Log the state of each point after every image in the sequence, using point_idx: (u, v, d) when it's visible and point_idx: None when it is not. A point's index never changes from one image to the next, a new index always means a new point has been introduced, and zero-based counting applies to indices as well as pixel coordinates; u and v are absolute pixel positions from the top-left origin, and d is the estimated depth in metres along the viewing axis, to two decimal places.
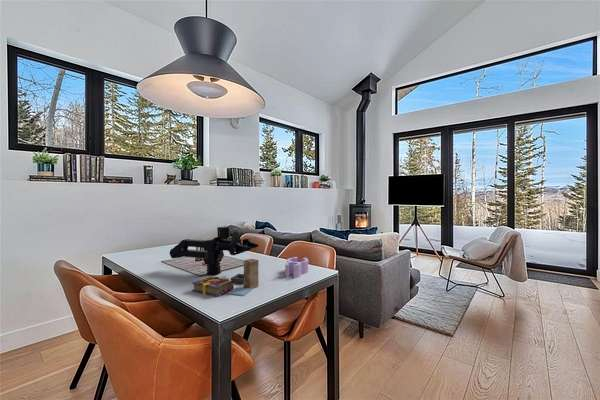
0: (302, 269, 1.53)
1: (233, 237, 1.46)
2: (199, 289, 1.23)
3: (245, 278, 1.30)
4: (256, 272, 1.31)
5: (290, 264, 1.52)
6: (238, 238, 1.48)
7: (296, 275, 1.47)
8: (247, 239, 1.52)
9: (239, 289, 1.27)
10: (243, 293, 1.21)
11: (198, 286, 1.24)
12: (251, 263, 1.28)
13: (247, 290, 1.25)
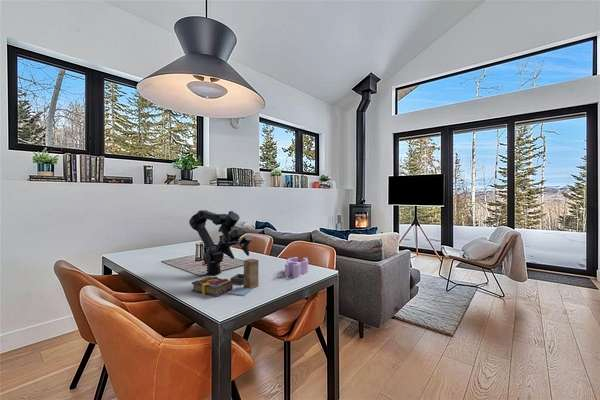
0: (302, 269, 1.53)
1: (232, 233, 1.37)
2: (198, 289, 1.23)
3: (245, 278, 1.30)
4: (256, 272, 1.31)
5: (290, 264, 1.52)
6: (236, 236, 1.39)
7: (295, 275, 1.46)
8: (246, 241, 1.42)
9: (239, 289, 1.27)
10: (243, 293, 1.21)
11: (197, 286, 1.24)
12: (251, 263, 1.28)
13: (247, 290, 1.25)
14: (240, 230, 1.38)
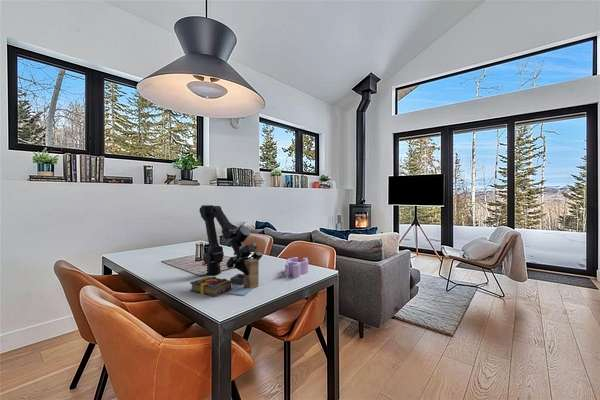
0: (302, 269, 1.53)
1: (243, 249, 1.31)
2: (197, 289, 1.23)
3: (245, 278, 1.30)
4: (256, 272, 1.31)
5: (290, 264, 1.52)
6: (247, 252, 1.33)
7: (295, 275, 1.46)
8: (254, 257, 1.35)
9: (239, 289, 1.27)
10: (243, 293, 1.21)
11: (196, 286, 1.24)
12: (251, 263, 1.28)
13: (247, 290, 1.25)
14: (251, 245, 1.32)
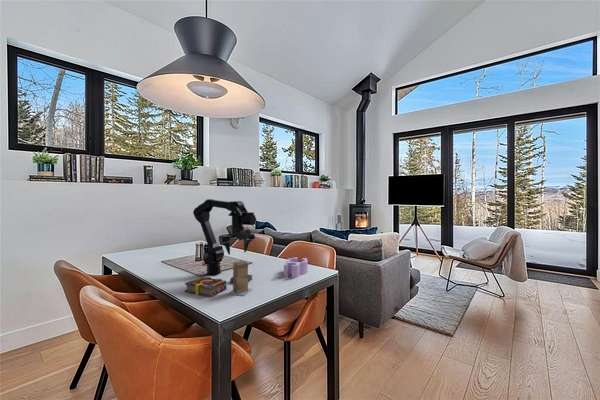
0: (301, 270, 1.52)
1: (236, 233, 1.41)
2: (192, 290, 1.23)
3: (234, 281, 1.24)
4: (245, 275, 1.23)
5: (289, 264, 1.52)
6: None
7: (294, 275, 1.46)
8: (248, 240, 1.47)
9: None
10: (243, 293, 1.21)
11: (191, 287, 1.23)
12: (239, 266, 1.21)
13: None
14: (245, 235, 1.40)
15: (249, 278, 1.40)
